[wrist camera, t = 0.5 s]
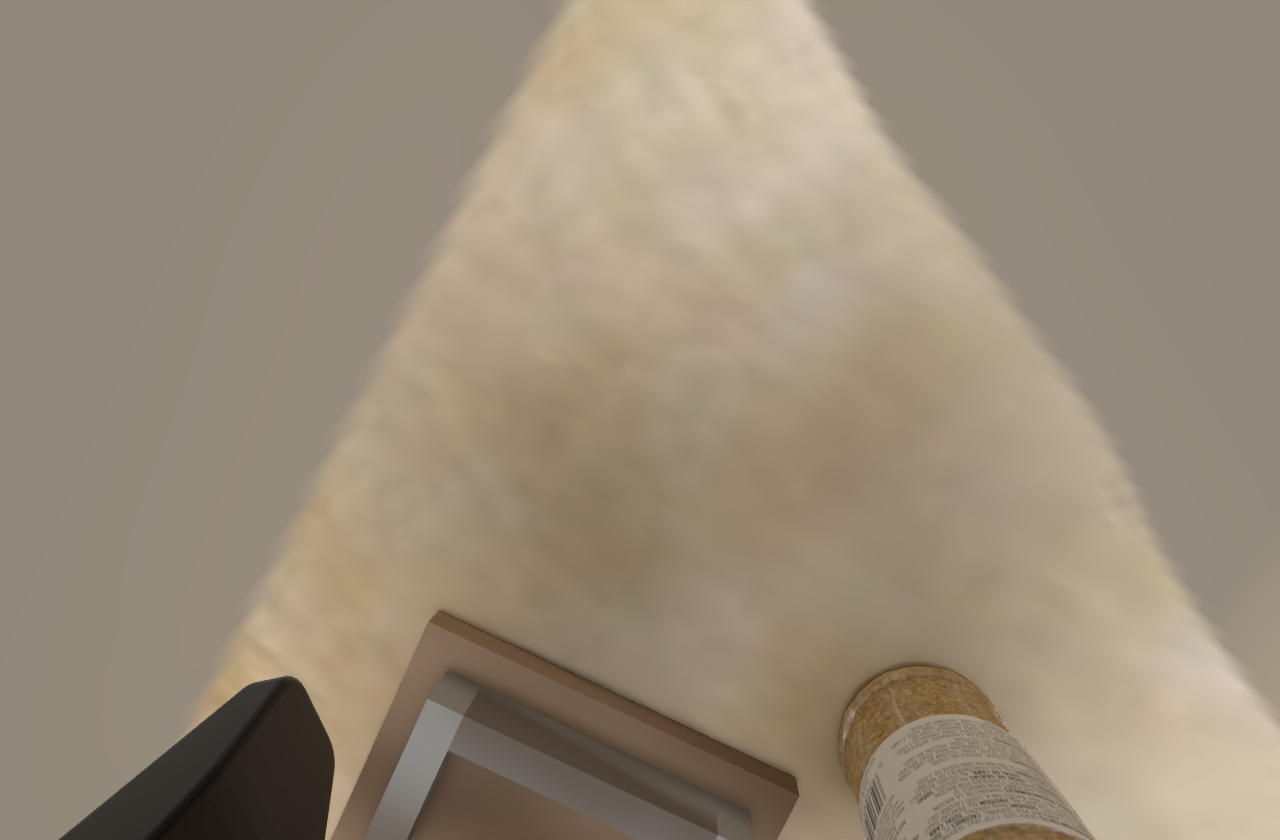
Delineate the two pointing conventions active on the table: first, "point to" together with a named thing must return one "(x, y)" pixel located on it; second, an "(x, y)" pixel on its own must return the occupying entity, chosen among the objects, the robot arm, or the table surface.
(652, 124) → the table surface
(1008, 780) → the sprinkles bottle
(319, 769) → the robot arm
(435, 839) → the socket board
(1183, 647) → the table surface
